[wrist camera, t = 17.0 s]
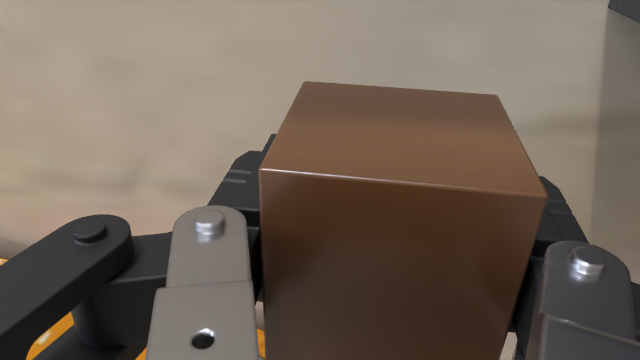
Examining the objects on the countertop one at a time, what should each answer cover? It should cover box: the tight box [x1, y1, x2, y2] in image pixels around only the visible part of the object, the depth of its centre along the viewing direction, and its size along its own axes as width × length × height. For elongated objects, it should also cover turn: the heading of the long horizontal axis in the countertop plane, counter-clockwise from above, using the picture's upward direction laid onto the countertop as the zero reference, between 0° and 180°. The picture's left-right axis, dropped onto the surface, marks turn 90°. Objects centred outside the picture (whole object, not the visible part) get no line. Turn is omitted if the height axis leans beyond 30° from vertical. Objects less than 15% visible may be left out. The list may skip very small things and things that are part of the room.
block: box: [258, 81, 548, 360], centre depth 11 cm, size 4×4×4 cm
